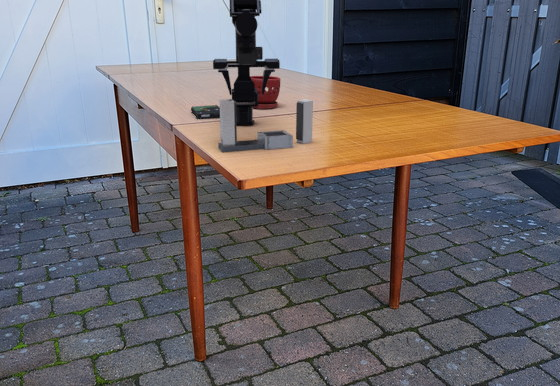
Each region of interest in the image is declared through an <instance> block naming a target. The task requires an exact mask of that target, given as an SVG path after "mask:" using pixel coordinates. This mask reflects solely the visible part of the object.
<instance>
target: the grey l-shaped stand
mask: <svg viewBox="0 0 560 386" xmlns="http://www.w3.org/2000/svg"><path fill="white" fill-rule="evenodd" d="M219 107H220V118H219V127H220V128H219V129H220V131H219V132H220V142H218V143H217V147H218V150H220V151H221V152H222V153H230V152H231V153H232V152H242V151H253V150H266V151H268V150H276V149H277V150H279V149H288V148H289V149H291V148H294V147H293V146H294V142H293V141H294V137H293V136H294V135H293V134H291V133H289V132H287V131H286V130H284V129H280V130H269V131H267V130H266V131H257V134H256V136H257V137H256V139H251V140H250V139H247V140H237V139H238V136H237V135H238V132H237V130H238V129H237V125H236V102H235V101H234V100H232V98H228V99H227V98H226V99H225V98H224V99H219Z"/></svg>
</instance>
